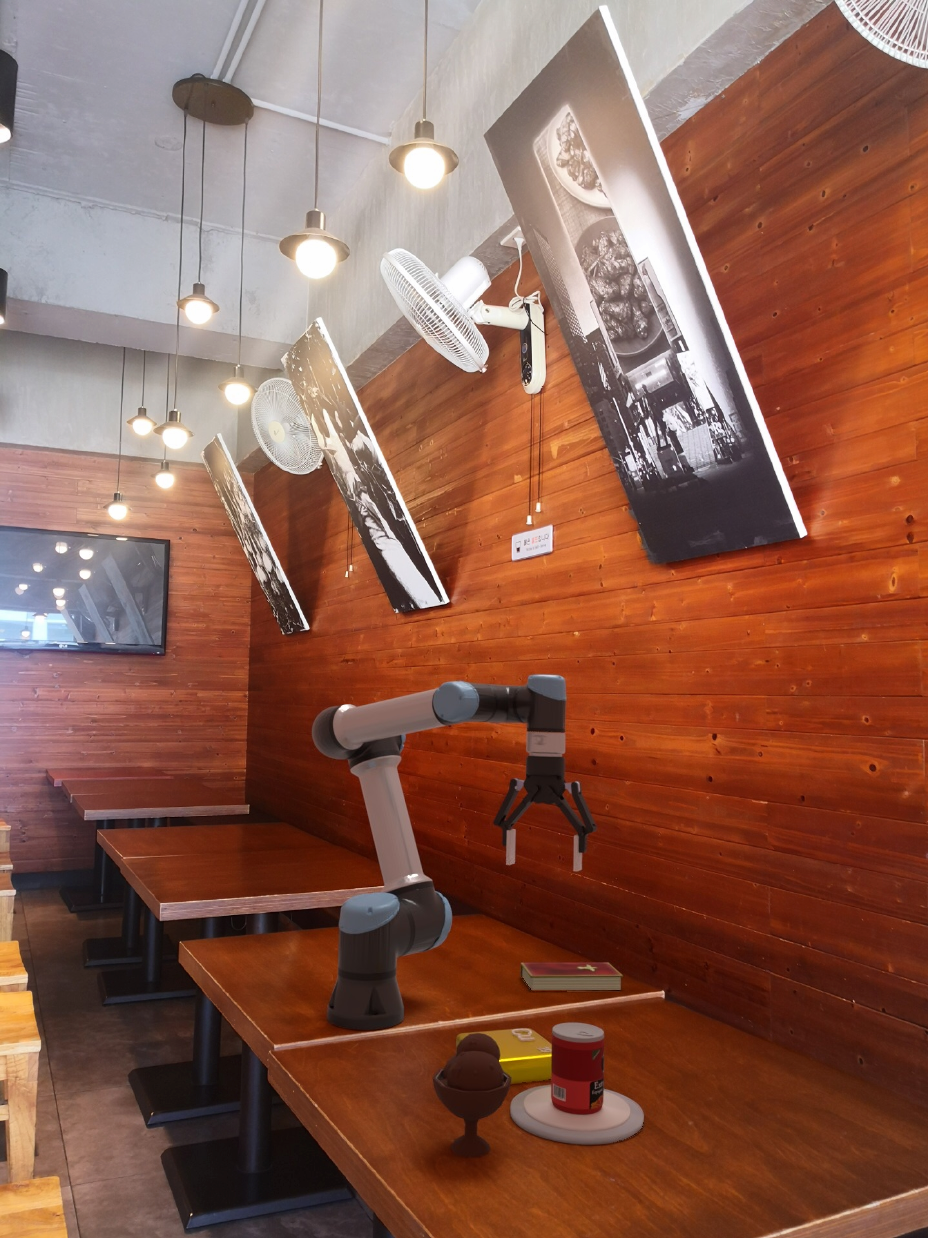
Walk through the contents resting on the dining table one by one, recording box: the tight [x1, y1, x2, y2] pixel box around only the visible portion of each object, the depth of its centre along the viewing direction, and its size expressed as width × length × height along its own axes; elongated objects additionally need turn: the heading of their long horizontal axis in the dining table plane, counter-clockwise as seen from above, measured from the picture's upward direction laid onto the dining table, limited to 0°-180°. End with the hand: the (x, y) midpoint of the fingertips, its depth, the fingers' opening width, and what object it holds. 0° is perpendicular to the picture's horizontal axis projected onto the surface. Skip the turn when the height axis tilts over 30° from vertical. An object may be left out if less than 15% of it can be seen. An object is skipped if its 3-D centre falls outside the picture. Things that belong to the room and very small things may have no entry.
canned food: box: [550, 1022, 605, 1115], centre depth 146 cm, size 8×8×11 cm
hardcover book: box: [519, 962, 624, 991], centre depth 219 cm, size 12×21×4 cm, turn 98°
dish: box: [510, 1084, 645, 1146], centre depth 145 cm, size 20×20×2 cm
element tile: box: [455, 1027, 552, 1085], centre depth 165 cm, size 15×15×5 cm
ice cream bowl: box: [432, 1033, 512, 1158], centre depth 134 cm, size 11×11×15 cm
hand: (543, 867), depth 183 cm, fingers open, 13 cm apart
